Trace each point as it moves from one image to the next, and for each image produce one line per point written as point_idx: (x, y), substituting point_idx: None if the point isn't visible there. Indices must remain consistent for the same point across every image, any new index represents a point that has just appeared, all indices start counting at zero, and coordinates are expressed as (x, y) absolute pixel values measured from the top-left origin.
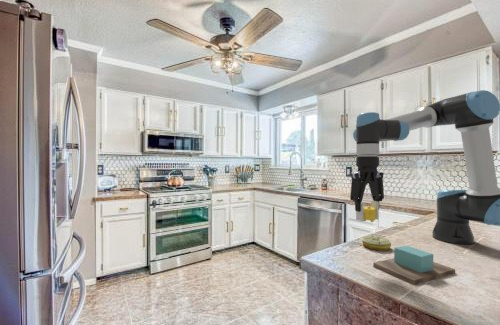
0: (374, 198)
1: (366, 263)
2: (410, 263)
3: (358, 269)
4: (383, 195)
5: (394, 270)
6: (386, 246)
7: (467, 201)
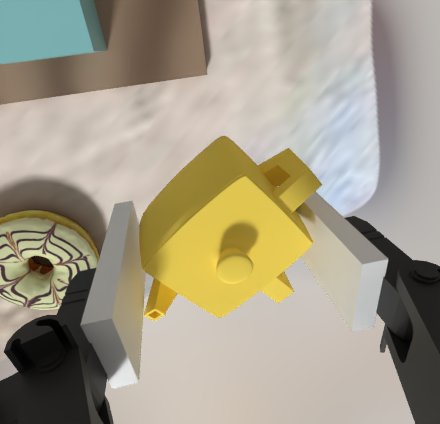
0: (96, 402)
1: (211, 107)
2: None
3: (284, 62)
4: None
5: None
6: (23, 214)
7: None
